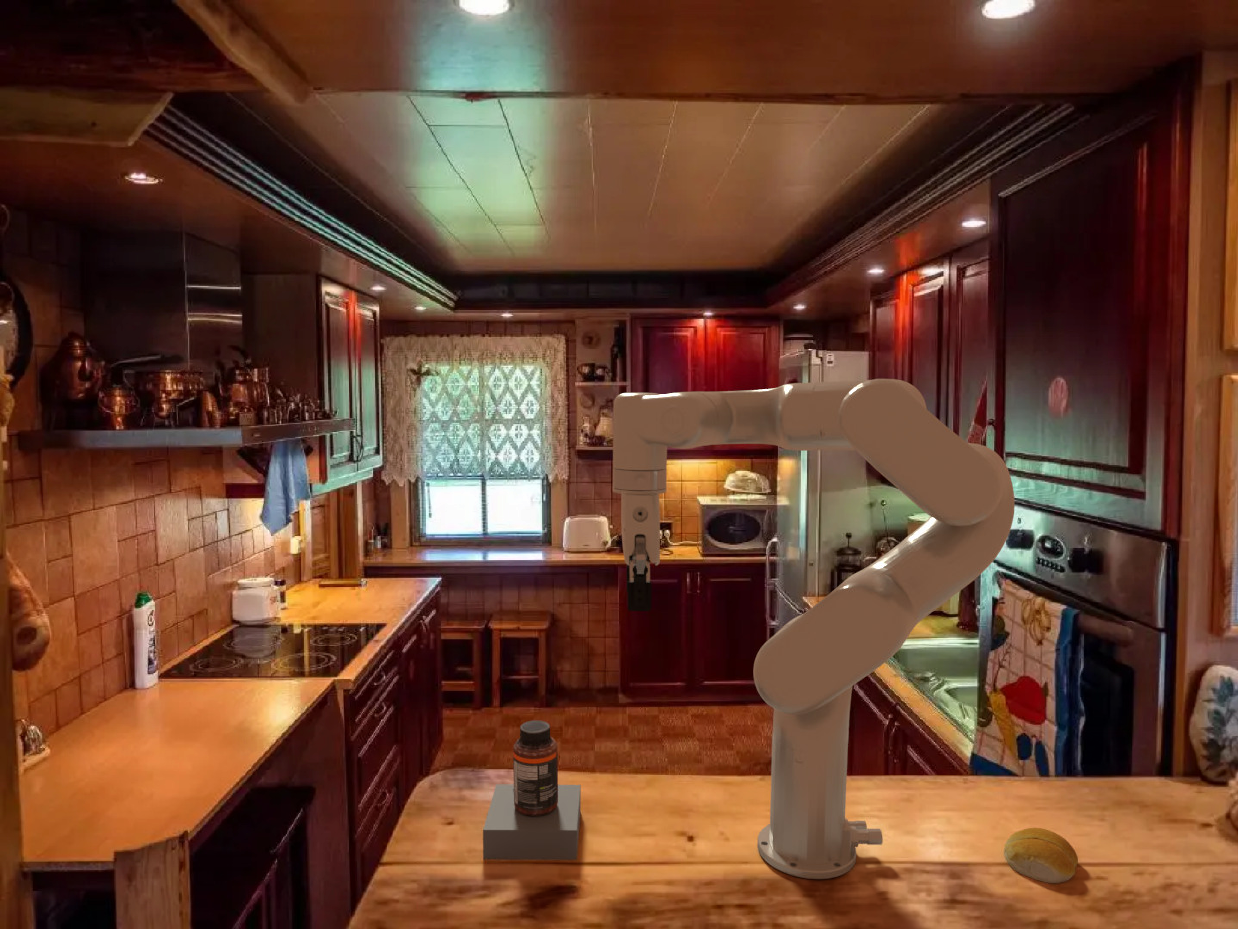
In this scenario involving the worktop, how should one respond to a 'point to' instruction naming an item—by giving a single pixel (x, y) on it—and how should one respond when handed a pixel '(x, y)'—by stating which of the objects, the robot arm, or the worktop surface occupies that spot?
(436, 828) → the worktop surface
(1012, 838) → the bread roll
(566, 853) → the pedestal
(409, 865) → the worktop surface
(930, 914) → the worktop surface
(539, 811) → the supplement bottle
